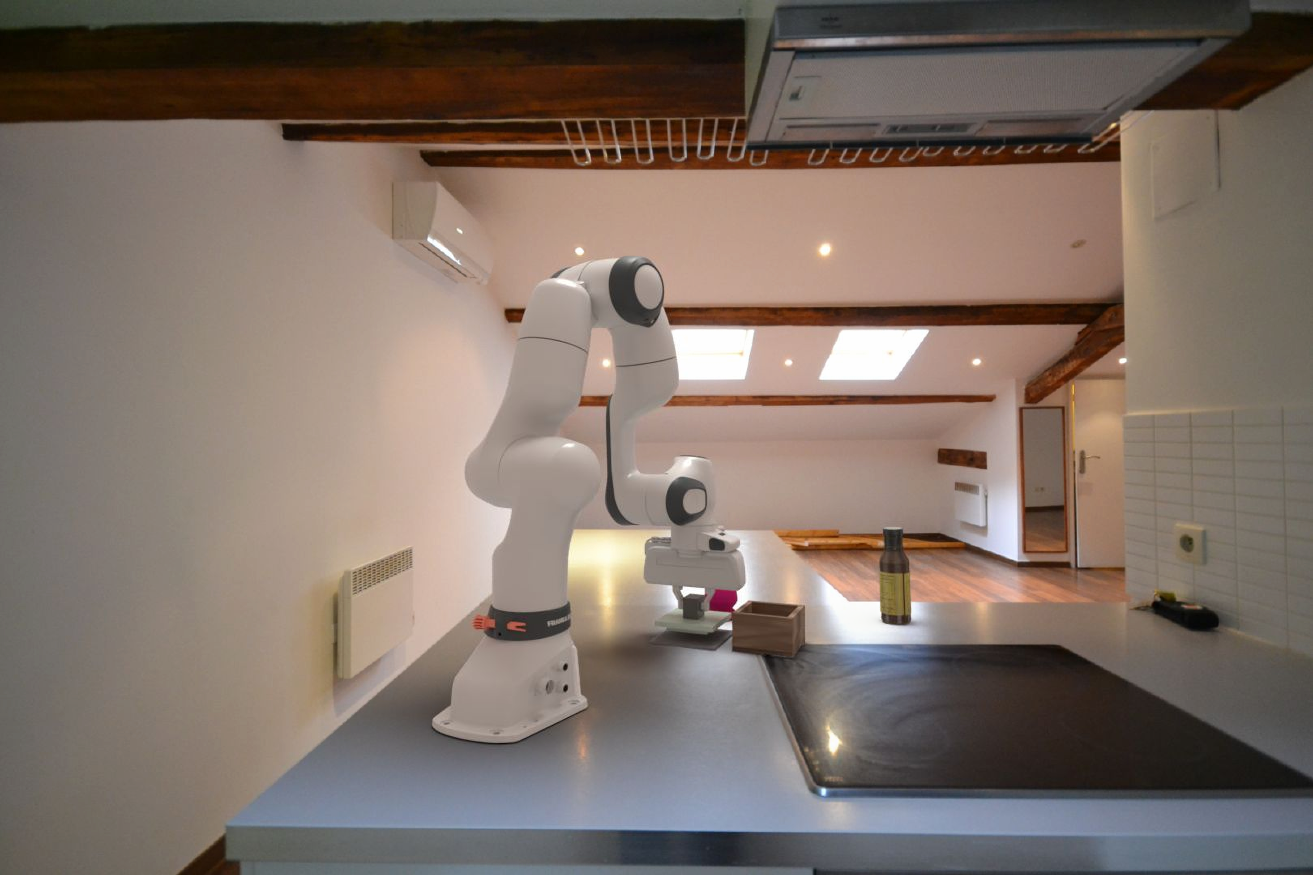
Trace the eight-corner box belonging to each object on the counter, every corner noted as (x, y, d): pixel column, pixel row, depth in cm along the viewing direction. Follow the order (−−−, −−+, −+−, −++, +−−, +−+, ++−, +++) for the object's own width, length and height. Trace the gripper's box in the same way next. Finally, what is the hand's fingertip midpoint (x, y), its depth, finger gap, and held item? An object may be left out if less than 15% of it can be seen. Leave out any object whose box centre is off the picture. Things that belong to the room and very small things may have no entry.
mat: (714, 651, 128) (714, 648, 128) (649, 643, 133) (649, 640, 133) (735, 633, 140) (735, 630, 140) (675, 626, 145) (675, 624, 145)
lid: (712, 637, 129) (712, 605, 129) (654, 631, 134) (654, 599, 134) (731, 622, 140) (731, 592, 140) (677, 617, 144) (677, 588, 144)
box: (792, 658, 123) (792, 618, 124) (732, 651, 128) (732, 612, 128) (805, 642, 134) (804, 605, 134) (748, 635, 138) (748, 600, 138)
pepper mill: (699, 615, 155) (698, 524, 155) (729, 612, 157) (729, 523, 157) (711, 623, 148) (711, 528, 148) (743, 620, 150) (742, 526, 150)
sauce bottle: (900, 617, 152) (900, 525, 152) (917, 624, 146) (916, 528, 146) (873, 618, 151) (873, 526, 151) (889, 626, 145) (889, 529, 145)
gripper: (638, 537, 138) (638, 608, 138) (738, 543, 130) (738, 618, 130) (651, 534, 144) (651, 601, 144) (747, 539, 136) (748, 610, 136)
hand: (693, 609), depth 137 cm, fingers closed on lid, 3 cm apart
